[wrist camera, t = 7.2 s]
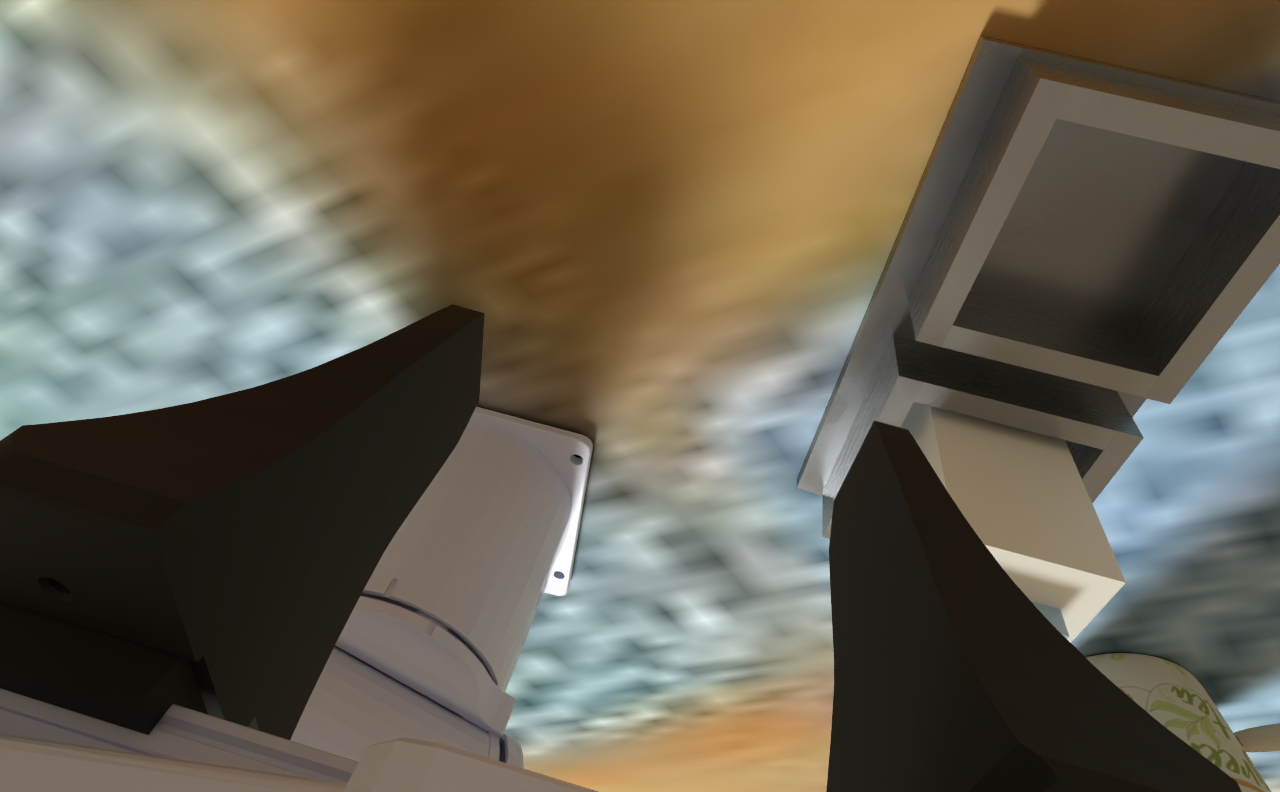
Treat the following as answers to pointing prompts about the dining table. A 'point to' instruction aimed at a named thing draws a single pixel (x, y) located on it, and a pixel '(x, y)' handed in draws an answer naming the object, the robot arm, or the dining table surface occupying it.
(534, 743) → the dining table surface
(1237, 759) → the mug
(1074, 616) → the plug
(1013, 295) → the panel
